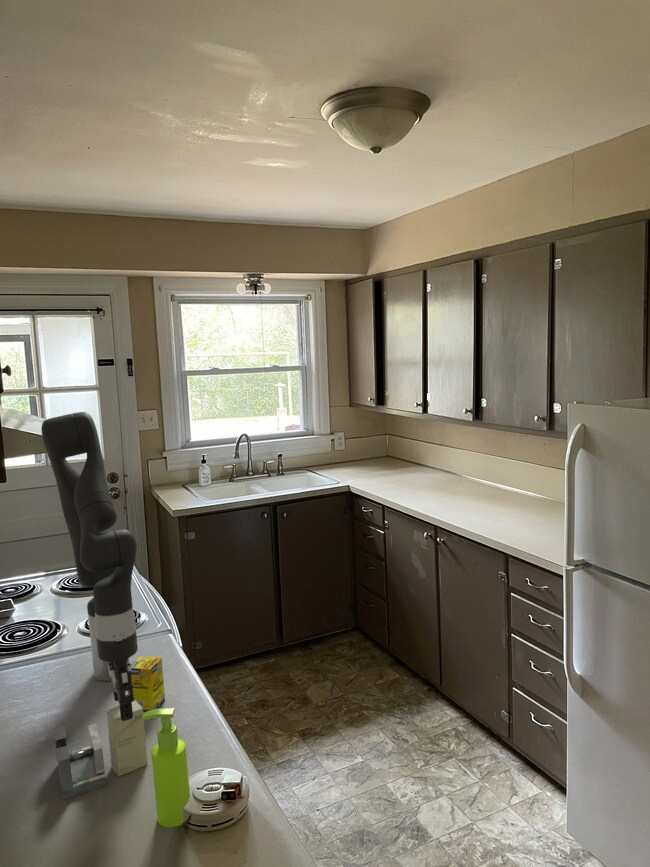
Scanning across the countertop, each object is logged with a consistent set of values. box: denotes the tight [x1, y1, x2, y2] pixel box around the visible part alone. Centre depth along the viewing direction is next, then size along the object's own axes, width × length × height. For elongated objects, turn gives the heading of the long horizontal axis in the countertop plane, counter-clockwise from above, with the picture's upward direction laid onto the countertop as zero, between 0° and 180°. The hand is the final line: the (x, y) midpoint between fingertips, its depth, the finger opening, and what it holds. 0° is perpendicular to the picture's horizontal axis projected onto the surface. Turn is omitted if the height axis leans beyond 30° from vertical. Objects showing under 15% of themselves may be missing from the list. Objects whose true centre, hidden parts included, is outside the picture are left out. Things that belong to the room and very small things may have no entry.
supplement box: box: [131, 656, 166, 713], centre depth 151 cm, size 6×6×11 cm
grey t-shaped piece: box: [69, 723, 106, 776], centre depth 127 cm, size 10×8×6 cm
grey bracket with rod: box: [53, 726, 108, 800], centre depth 127 cm, size 12×8×8 cm, turn 27°
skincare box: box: [106, 700, 148, 777], centre depth 129 cm, size 6×4×12 cm
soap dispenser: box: [142, 707, 191, 829], centre depth 113 cm, size 6×7×20 cm
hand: (123, 709), depth 128 cm, fingers open, 8 cm apart
